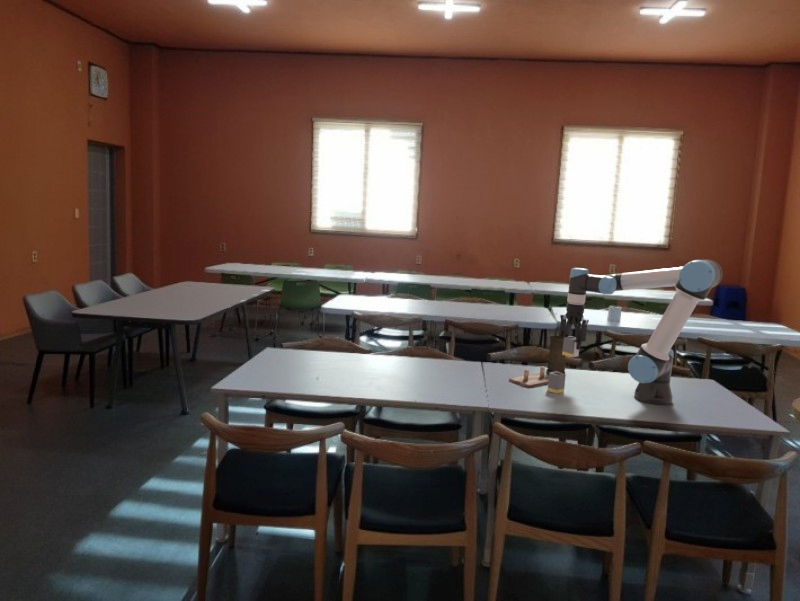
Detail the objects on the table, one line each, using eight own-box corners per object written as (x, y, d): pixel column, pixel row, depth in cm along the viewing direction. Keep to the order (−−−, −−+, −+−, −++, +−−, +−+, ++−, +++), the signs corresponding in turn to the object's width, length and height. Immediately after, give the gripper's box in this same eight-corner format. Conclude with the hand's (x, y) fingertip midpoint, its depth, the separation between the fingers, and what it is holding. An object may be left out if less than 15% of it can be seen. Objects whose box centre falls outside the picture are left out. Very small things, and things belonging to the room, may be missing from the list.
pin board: (558, 382, 275) (559, 369, 274) (529, 387, 263) (530, 374, 262) (537, 375, 285) (539, 363, 284) (508, 380, 273) (510, 367, 272)
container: (560, 376, 285) (564, 340, 282) (543, 373, 290) (546, 336, 288) (568, 373, 292) (571, 337, 289) (550, 369, 297) (554, 334, 295)
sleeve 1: (563, 392, 260) (565, 374, 259) (556, 393, 257) (558, 375, 256) (554, 388, 264) (556, 371, 263) (547, 390, 261) (549, 372, 260)
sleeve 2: (578, 356, 265) (580, 338, 264) (571, 357, 262) (573, 339, 261) (569, 353, 269) (571, 336, 267) (562, 354, 266) (564, 337, 264)
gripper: (598, 306, 257) (592, 358, 260) (564, 299, 271) (559, 349, 275) (588, 307, 252) (582, 360, 256) (553, 300, 266) (548, 351, 270)
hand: (570, 354), depth 265 cm, fingers closed on sleeve 2, 5 cm apart
